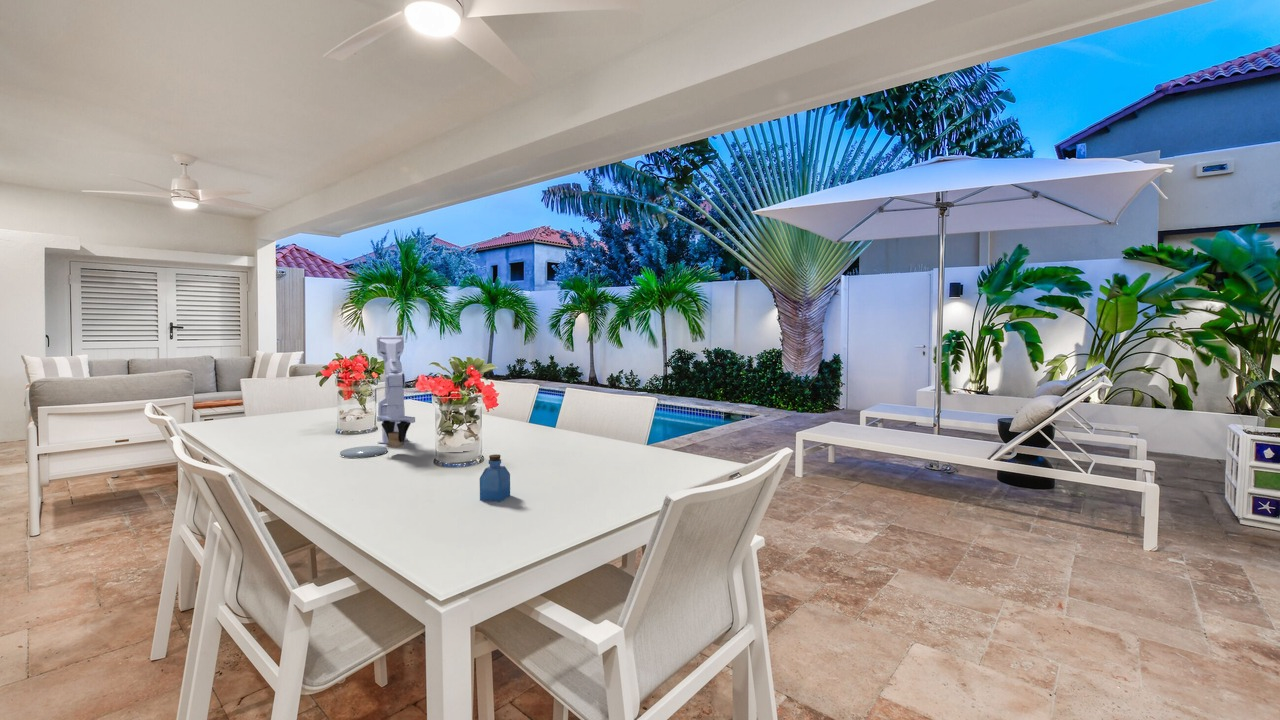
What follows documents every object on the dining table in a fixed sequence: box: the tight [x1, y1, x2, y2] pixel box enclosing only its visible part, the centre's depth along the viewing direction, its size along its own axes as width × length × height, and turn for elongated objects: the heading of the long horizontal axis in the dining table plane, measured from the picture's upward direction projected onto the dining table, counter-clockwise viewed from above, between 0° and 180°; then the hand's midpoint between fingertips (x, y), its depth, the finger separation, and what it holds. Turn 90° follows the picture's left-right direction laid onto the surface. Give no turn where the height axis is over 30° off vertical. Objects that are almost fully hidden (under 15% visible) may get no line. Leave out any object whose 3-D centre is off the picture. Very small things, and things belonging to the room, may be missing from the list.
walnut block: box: [387, 431, 406, 448], centre depth 209 cm, size 4×4×5 cm
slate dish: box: [339, 445, 388, 458], centre depth 211 cm, size 16×16×1 cm
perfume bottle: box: [479, 453, 511, 503], centre depth 157 cm, size 6×6×12 cm
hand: (396, 441), depth 209 cm, fingers closed on walnut block, 4 cm apart
